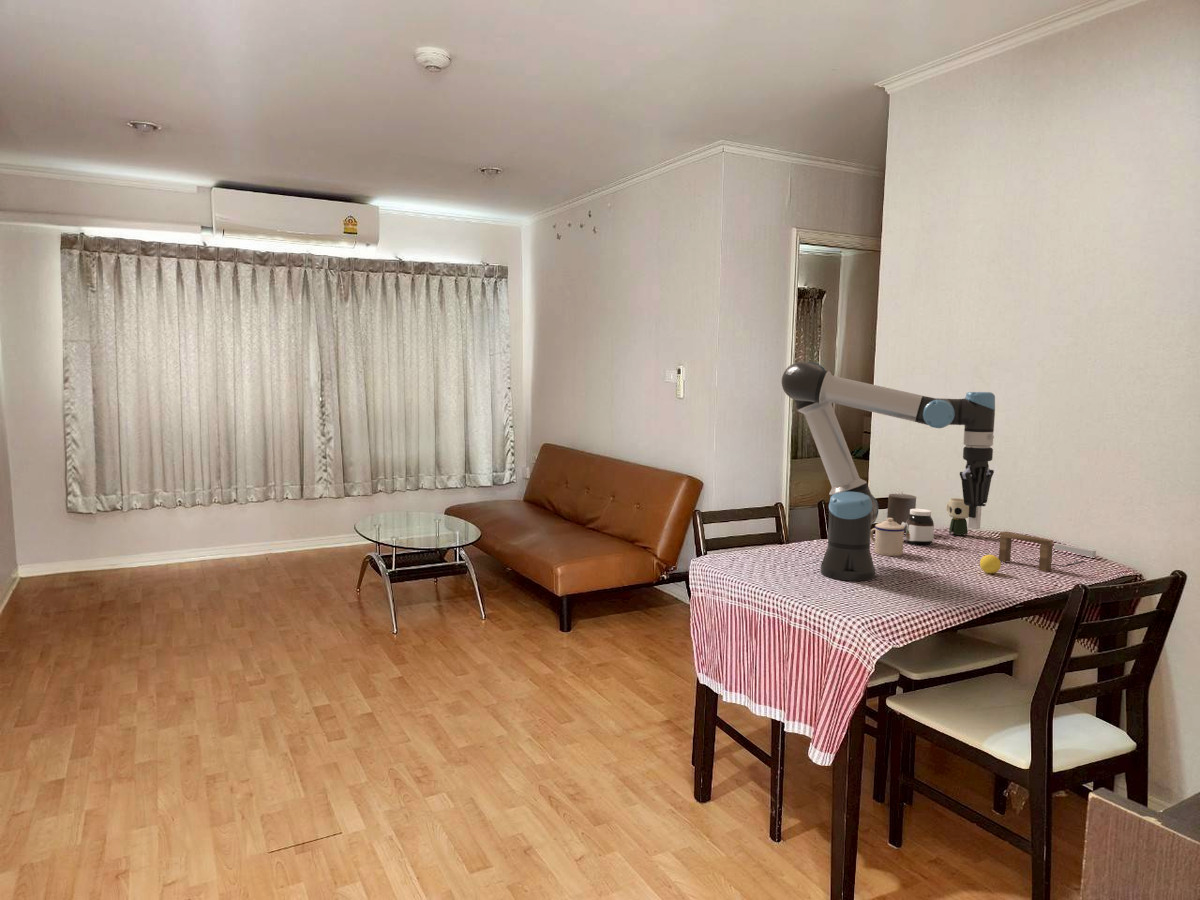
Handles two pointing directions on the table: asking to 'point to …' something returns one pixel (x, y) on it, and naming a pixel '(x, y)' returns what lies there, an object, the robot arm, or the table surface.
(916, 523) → the spread jar
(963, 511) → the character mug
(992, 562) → the ball
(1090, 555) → the wall
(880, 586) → the table surface
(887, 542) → the teacup with lid
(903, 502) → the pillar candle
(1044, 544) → the bridge
